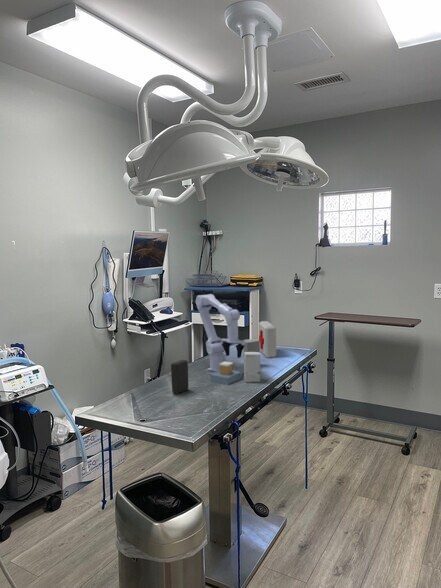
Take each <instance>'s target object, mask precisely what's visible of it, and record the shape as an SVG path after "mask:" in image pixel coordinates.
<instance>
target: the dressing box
mask: <svg viewBox="0 0 441 588" xmlns="http://www.w3.org/2000/svg"><path fill="white" fill-rule="evenodd" d="M242 375H243V372H242V371H238V370H233V373H231V374H229V375H224V374H220V371H218V372H217V371H215V372H214V373H211V374H210V382H211V383H212V382H213V383H217V384H222V385H227V386H228V385H230V384H233V383H234V382H237V381H240V380H242V378H243V376H242Z"/></svg>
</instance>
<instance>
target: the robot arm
mask: <svg viewBox="0 0 441 588" xmlns="http://www.w3.org/2000/svg"><path fill="white" fill-rule="evenodd" d="M195 298H196V299H195V301H194V302H195V304H196V308H197V311H198V312H199V315H200V319H201V322H202V325H203V327H204V332H206V337H207V340H206V341H205V346H206V352H207V354H208V356H209V365H210V366H209V367H208V368H207V369H206V370H208V371H212V372H219V371H220V365H219V364H220V363H222V362H224V361H225V362H227V357H229V356H230V348H231V344H234V345H235V347H236V356H237V359H238V358H241V357H242V352H243V348H244V346H245V341H243V340H241V339H239V321H238V320H240V318H241V315H240V314H241V313H240V311H239V310H238V309H234V308H232V307H230V306H229V305H228V304H227V303H225V302H224V303H222V302H220V301H219V300H218V299H217V298H216V296H215V295H214V294H213V293H209V294H201V295H200V294H199V295H197V296H196V297H195ZM212 307H214V308H216V309H217V311H218V313H219V314H221V315H222V316H223V317H224V319H225V323H226V326H227V327H226V329H227V338H221V337H219V336H218V335H217V333H216V329H215V326H214V323H213V320H212V318H211V315H210V310H211V309H212Z"/></svg>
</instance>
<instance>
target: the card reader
mask: <svg viewBox="0 0 441 588" xmlns="http://www.w3.org/2000/svg"><path fill="white" fill-rule="evenodd" d="M188 365H189V364H188V360H186V359H181V360H177V361H176V362H175V361H174V362H172V363H171V365H170V375H171V376H170V377H171V392H172V393H173V394H176V395H179V394H181V393H183V392H185V391H188V390H189V366H188Z"/></svg>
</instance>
